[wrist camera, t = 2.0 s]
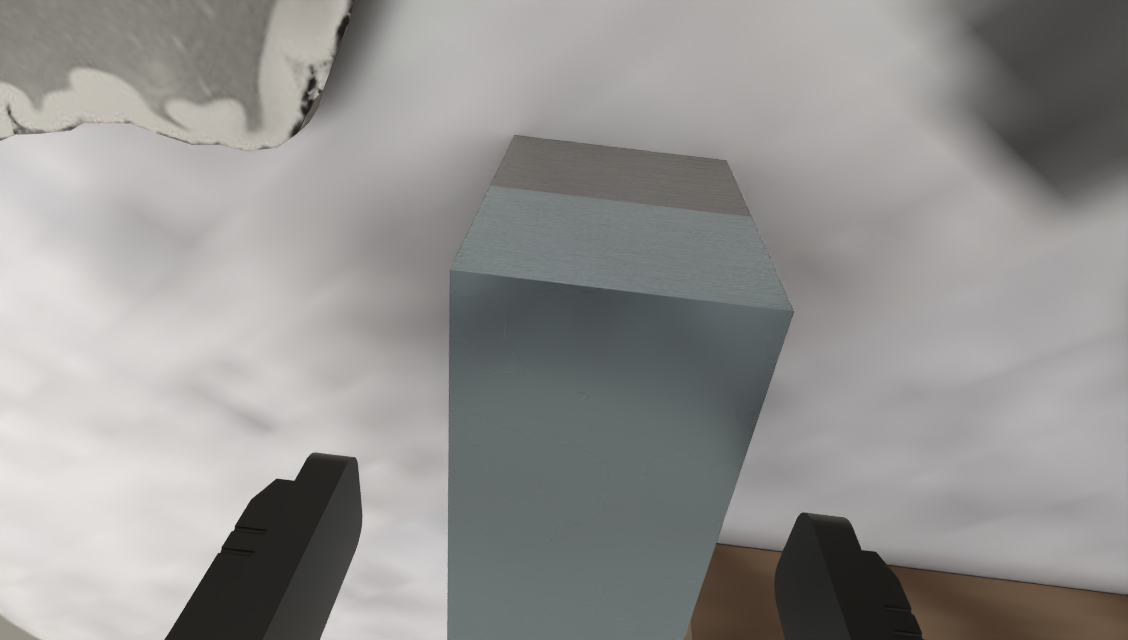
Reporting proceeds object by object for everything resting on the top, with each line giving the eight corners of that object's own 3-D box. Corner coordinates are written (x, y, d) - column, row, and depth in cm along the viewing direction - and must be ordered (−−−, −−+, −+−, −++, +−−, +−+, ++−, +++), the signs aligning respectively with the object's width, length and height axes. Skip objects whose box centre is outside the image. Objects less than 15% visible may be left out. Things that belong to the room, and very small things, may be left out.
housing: (725, 159, 15) (794, 311, 9) (653, 466, 21) (666, 688, 15) (515, 133, 15) (450, 269, 9) (496, 447, 21) (447, 660, 15)
